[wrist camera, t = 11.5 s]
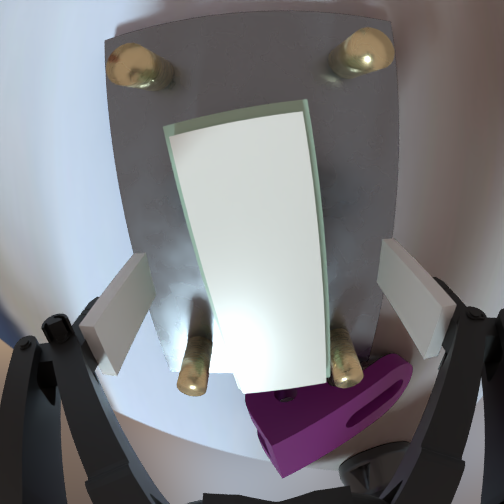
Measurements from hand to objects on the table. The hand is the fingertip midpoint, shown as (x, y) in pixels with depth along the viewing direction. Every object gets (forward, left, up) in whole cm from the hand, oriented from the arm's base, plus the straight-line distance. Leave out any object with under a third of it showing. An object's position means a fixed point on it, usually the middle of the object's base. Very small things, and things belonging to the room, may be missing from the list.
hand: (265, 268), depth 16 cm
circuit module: (0, 0, -6) cm, 6 cm away
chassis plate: (0, 0, -7) cm, 7 cm away
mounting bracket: (-20, -7, -8) cm, 22 cm away
